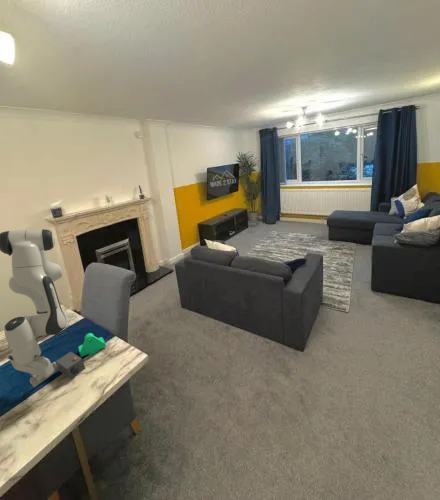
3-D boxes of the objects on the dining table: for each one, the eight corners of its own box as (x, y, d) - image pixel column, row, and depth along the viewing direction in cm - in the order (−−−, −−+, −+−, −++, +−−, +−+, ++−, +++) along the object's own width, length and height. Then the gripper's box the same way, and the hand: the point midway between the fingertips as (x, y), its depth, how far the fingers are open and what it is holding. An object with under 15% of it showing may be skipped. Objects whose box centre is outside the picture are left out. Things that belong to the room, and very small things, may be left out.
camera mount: (103, 340, 142) (98, 324, 139) (106, 347, 136) (101, 331, 133) (79, 350, 136) (74, 334, 132) (81, 358, 130) (75, 342, 126)
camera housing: (59, 371, 123) (55, 360, 121) (74, 361, 128) (70, 350, 126) (72, 380, 117) (67, 368, 115) (86, 369, 123) (82, 358, 120)
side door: (57, 369, 123) (54, 361, 122) (58, 370, 122) (55, 362, 121) (32, 386, 114) (28, 378, 113) (33, 388, 114) (30, 379, 112)
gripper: (52, 352, 109) (62, 378, 113) (18, 345, 116) (29, 369, 120) (38, 363, 103) (49, 389, 108) (4, 355, 110) (15, 380, 115)
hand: (38, 379), depth 114 cm, fingers closed
